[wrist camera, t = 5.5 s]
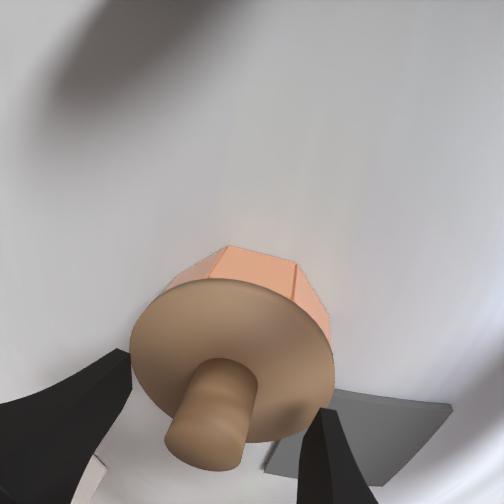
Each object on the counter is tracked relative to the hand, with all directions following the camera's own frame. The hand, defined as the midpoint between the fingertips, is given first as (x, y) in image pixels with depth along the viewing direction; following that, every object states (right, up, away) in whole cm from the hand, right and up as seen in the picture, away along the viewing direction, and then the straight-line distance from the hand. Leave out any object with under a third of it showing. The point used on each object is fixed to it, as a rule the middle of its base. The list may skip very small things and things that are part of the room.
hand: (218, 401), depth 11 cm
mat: (+8, -7, +7) cm, 13 cm away
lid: (0, +1, +2) cm, 2 cm away
